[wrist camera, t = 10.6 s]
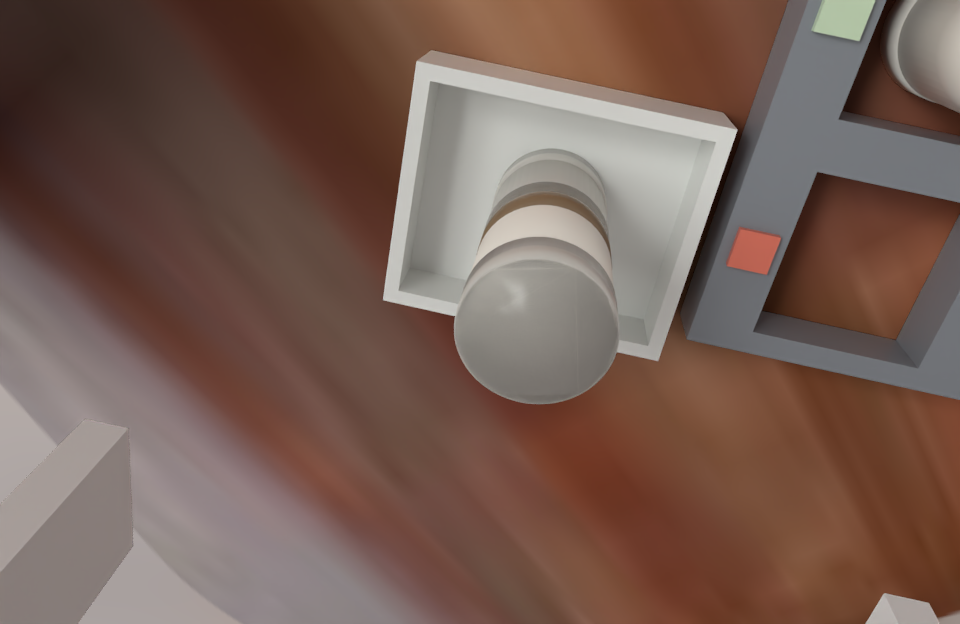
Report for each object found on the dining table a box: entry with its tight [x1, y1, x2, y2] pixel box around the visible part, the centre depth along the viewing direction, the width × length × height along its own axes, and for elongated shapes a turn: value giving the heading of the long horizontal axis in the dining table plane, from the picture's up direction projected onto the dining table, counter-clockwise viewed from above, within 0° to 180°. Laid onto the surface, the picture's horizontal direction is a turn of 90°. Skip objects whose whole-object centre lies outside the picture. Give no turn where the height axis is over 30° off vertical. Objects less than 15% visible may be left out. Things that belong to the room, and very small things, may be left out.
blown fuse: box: [454, 148, 620, 404], centre depth 27 cm, size 5×5×12 cm
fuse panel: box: [680, 0, 960, 400], centre depth 29 cm, size 12×18×3 cm, turn 169°
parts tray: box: [383, 50, 737, 361], centre depth 31 cm, size 12×10×3 cm
